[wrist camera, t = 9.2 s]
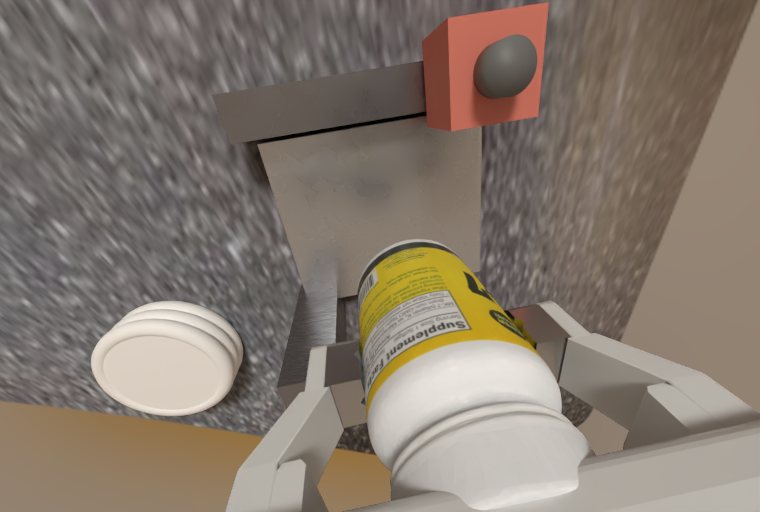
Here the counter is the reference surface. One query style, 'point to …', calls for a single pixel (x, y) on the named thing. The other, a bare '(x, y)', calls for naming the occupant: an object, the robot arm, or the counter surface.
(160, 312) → the coaster
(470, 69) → the handle
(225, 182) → the counter surface
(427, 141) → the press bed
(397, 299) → the supplement bottle
